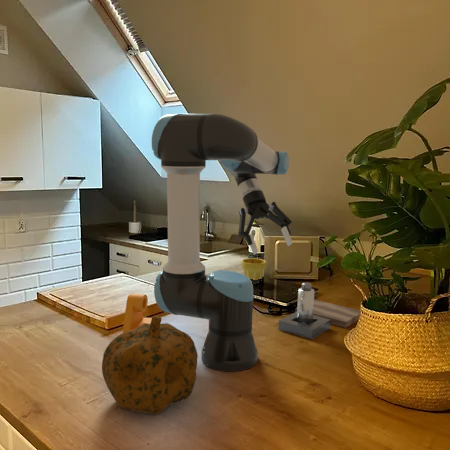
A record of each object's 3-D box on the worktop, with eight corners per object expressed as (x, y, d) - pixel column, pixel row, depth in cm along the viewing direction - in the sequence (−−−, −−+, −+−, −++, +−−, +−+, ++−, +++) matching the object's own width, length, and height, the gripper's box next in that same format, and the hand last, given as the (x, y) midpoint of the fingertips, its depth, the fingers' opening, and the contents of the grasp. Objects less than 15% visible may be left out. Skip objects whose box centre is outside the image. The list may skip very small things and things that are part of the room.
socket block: (311, 339, 136) (312, 330, 136) (278, 329, 144) (278, 320, 143) (330, 328, 145) (330, 319, 145) (297, 319, 153) (298, 311, 152)
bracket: (145, 340, 133) (145, 301, 132) (123, 337, 135) (122, 298, 133) (158, 326, 144) (158, 290, 142) (137, 324, 145) (136, 288, 143)
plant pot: (256, 287, 190) (257, 264, 188) (236, 282, 196) (237, 260, 194) (269, 282, 198) (270, 260, 196) (250, 278, 204) (250, 257, 202)
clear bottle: (307, 333, 141) (309, 286, 139) (293, 329, 144) (295, 283, 142) (315, 328, 145) (317, 283, 143) (301, 324, 148) (303, 280, 146)
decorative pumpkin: (107, 374, 110) (113, 296, 106) (193, 380, 112) (201, 304, 108) (88, 426, 90) (94, 333, 87) (193, 432, 92) (203, 341, 88)
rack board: (345, 328, 146) (346, 322, 146) (295, 314, 158) (295, 308, 158) (363, 317, 157) (363, 311, 157) (314, 304, 169) (314, 299, 169)
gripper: (277, 193, 168) (299, 245, 161) (217, 205, 158) (237, 260, 152) (286, 183, 161) (308, 237, 155) (223, 195, 151) (244, 252, 145)
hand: (273, 249), depth 153 cm, fingers open, 13 cm apart
